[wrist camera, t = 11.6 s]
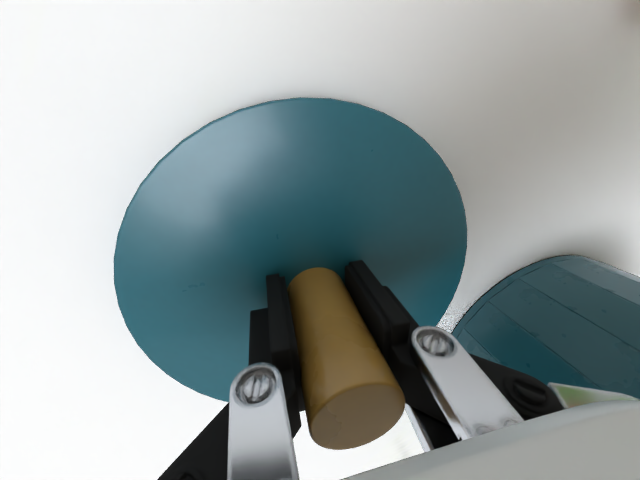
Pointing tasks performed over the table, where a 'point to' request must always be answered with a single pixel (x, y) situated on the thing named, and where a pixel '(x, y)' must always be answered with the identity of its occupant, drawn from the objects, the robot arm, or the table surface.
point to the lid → (291, 251)
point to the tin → (561, 324)
